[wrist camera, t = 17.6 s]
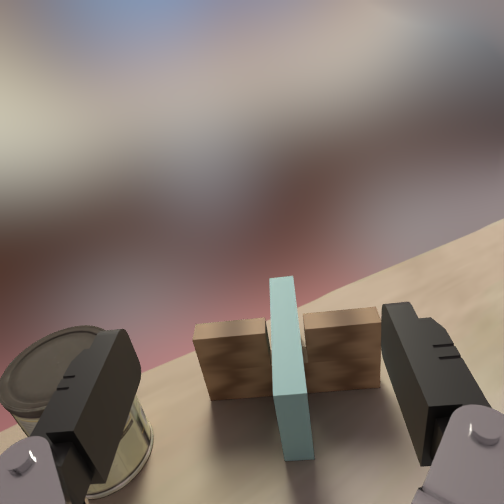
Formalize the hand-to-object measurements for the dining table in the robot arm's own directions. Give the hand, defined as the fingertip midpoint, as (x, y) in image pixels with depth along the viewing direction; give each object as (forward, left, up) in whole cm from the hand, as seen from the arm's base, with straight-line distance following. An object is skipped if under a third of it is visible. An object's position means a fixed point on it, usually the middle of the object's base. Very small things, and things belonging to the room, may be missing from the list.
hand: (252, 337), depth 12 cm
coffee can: (-21, +16, -30) cm, 40 cm away
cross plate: (0, +23, -30) cm, 38 cm away
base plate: (0, +23, -30) cm, 38 cm away
